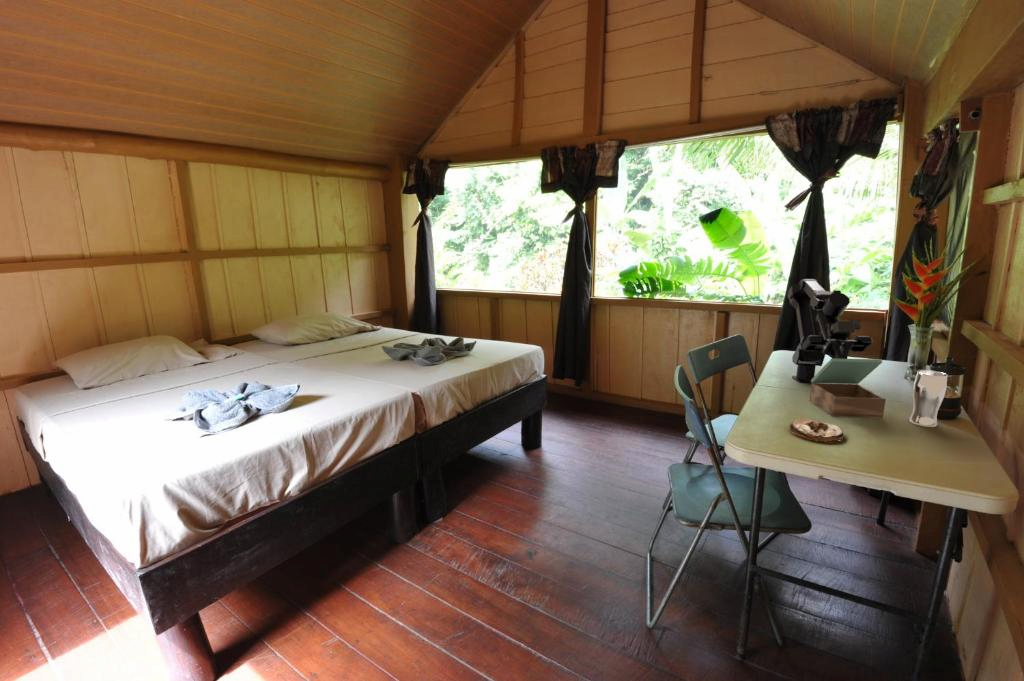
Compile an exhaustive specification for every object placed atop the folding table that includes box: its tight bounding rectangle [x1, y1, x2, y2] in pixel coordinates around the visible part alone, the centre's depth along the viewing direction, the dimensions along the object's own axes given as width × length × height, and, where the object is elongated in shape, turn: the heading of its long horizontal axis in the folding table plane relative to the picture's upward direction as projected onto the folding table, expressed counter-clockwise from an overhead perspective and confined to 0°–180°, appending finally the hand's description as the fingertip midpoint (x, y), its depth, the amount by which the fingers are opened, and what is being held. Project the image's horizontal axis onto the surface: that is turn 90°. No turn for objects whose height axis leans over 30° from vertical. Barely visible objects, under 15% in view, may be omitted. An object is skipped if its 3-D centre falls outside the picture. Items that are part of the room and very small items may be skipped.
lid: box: [810, 357, 883, 385], centre depth 152 cm, size 14×14×2 cm
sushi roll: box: [789, 417, 844, 443], centre depth 134 cm, size 15×15×4 cm
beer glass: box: [909, 369, 948, 428], centre depth 139 cm, size 7×7×15 cm
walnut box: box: [808, 382, 887, 419], centre depth 151 cm, size 14×14×6 cm
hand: (844, 366), depth 152 cm, fingers closed
